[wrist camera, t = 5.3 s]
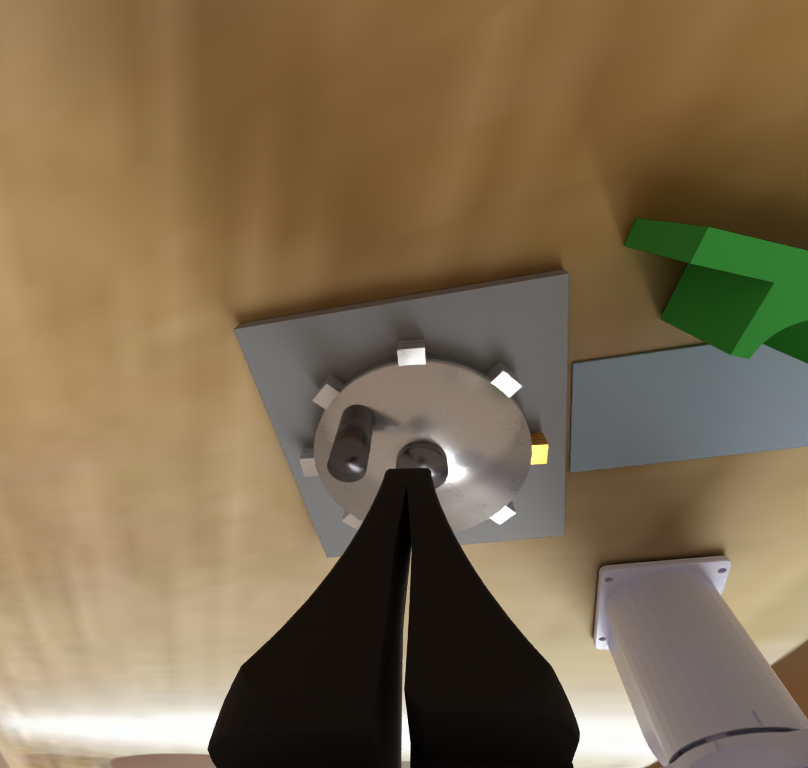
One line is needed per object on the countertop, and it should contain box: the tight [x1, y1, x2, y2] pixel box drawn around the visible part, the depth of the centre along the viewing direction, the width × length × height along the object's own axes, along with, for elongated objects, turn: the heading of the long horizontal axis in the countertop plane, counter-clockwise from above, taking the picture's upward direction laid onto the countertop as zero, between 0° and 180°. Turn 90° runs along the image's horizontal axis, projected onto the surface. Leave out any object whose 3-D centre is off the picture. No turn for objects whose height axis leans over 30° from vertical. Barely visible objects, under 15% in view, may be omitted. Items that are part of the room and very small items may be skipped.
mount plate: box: [233, 269, 569, 558], centre depth 22 cm, size 16×15×1 cm
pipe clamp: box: [624, 218, 808, 364], centre depth 15 cm, size 11×4×5 cm, turn 78°
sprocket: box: [299, 339, 548, 533], centre depth 19 cm, size 12×12×4 cm
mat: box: [569, 344, 808, 473], centre depth 20 cm, size 7×13×1 cm, turn 100°
